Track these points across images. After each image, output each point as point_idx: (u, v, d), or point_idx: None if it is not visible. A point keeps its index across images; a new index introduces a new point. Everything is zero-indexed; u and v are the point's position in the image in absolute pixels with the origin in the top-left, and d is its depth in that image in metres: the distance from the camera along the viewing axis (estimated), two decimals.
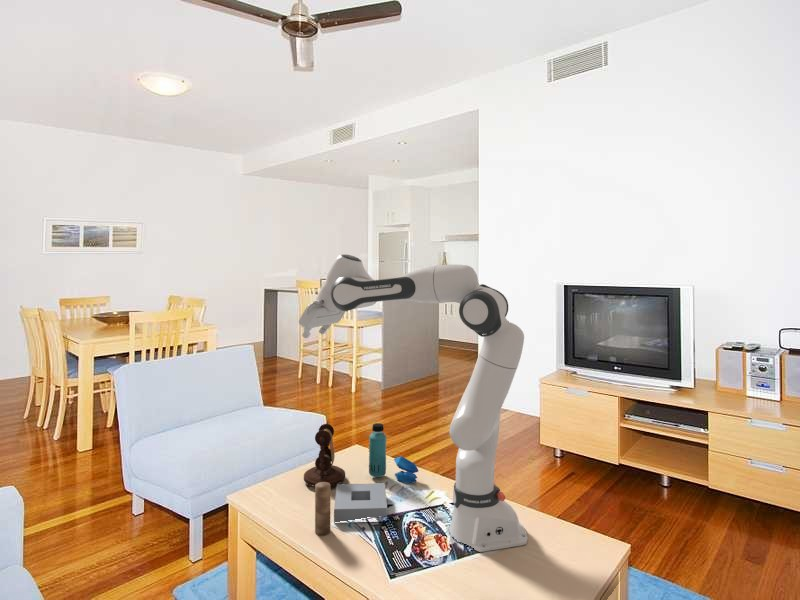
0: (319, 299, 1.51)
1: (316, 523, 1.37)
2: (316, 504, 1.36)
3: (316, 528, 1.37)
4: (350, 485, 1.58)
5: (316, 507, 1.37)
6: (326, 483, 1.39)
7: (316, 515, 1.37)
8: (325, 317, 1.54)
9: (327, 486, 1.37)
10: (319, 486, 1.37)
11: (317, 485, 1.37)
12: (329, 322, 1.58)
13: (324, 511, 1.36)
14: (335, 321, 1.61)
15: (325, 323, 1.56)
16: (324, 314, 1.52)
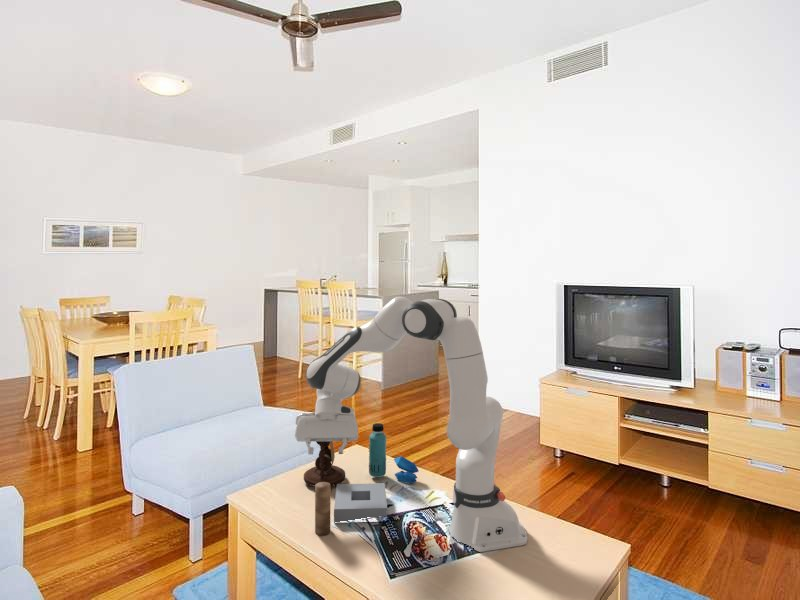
0: None
1: (316, 523, 1.37)
2: (316, 504, 1.36)
3: (316, 528, 1.37)
4: (350, 485, 1.58)
5: (316, 507, 1.37)
6: (326, 483, 1.39)
7: (316, 515, 1.37)
8: (323, 426, 1.53)
9: (327, 486, 1.37)
10: (319, 486, 1.37)
11: (317, 485, 1.37)
12: (335, 433, 1.52)
13: (324, 511, 1.36)
14: (347, 434, 1.52)
15: (328, 434, 1.52)
16: (319, 423, 1.54)
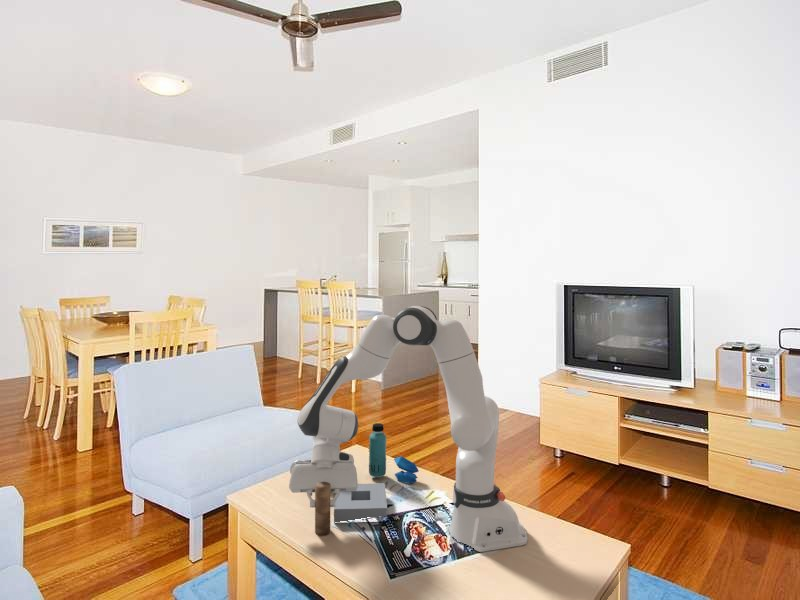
0: None
1: (316, 523, 1.37)
2: (316, 504, 1.36)
3: (316, 528, 1.37)
4: None
5: (316, 507, 1.37)
6: (326, 483, 1.39)
7: (316, 515, 1.37)
8: (319, 476, 1.41)
9: (327, 486, 1.37)
10: (319, 486, 1.37)
11: (317, 485, 1.37)
12: (333, 484, 1.40)
13: (324, 511, 1.36)
14: (346, 484, 1.40)
15: None
16: (316, 472, 1.42)
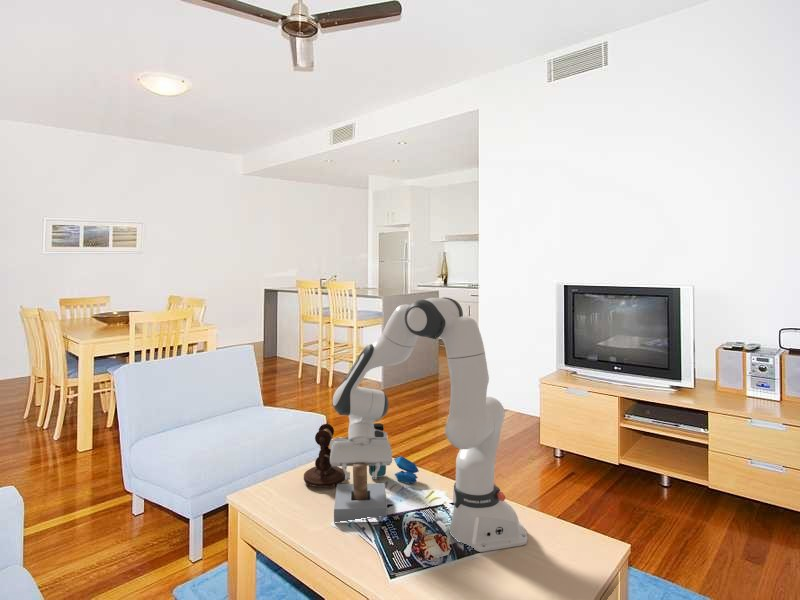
0: None
1: (355, 499, 1.50)
2: (354, 482, 1.49)
3: None
4: (350, 485, 1.58)
5: (354, 485, 1.49)
6: (362, 463, 1.51)
7: (355, 492, 1.49)
8: (357, 451, 1.54)
9: (364, 465, 1.50)
10: (356, 466, 1.50)
11: (355, 465, 1.50)
12: (370, 458, 1.53)
13: (362, 488, 1.49)
14: (382, 458, 1.53)
15: (362, 458, 1.52)
16: (354, 448, 1.55)
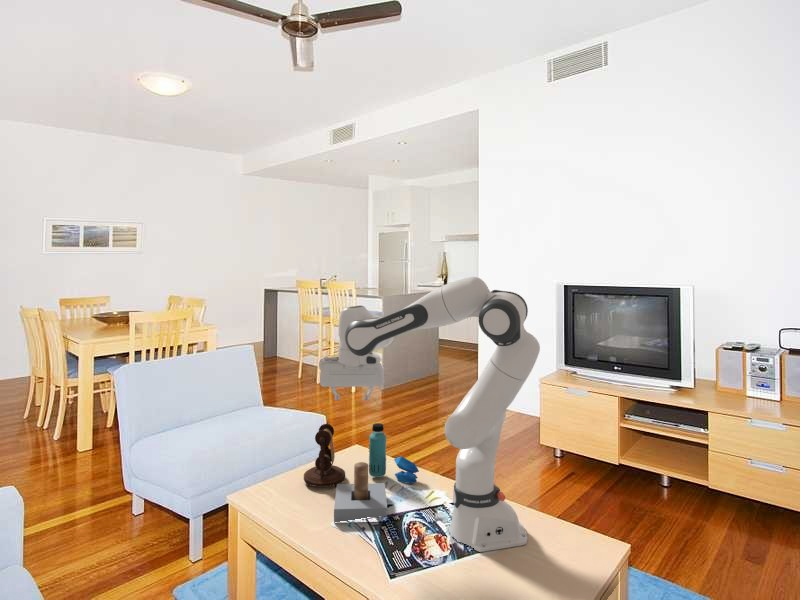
0: None
1: (355, 499, 1.50)
2: (355, 482, 1.49)
3: None
4: (350, 485, 1.58)
5: (355, 485, 1.49)
6: (364, 463, 1.51)
7: (355, 492, 1.50)
8: (348, 375, 1.48)
9: (365, 466, 1.50)
10: (358, 466, 1.50)
11: (356, 465, 1.50)
12: (361, 383, 1.48)
13: (363, 489, 1.49)
14: (373, 383, 1.49)
15: (353, 383, 1.48)
16: (344, 372, 1.48)
